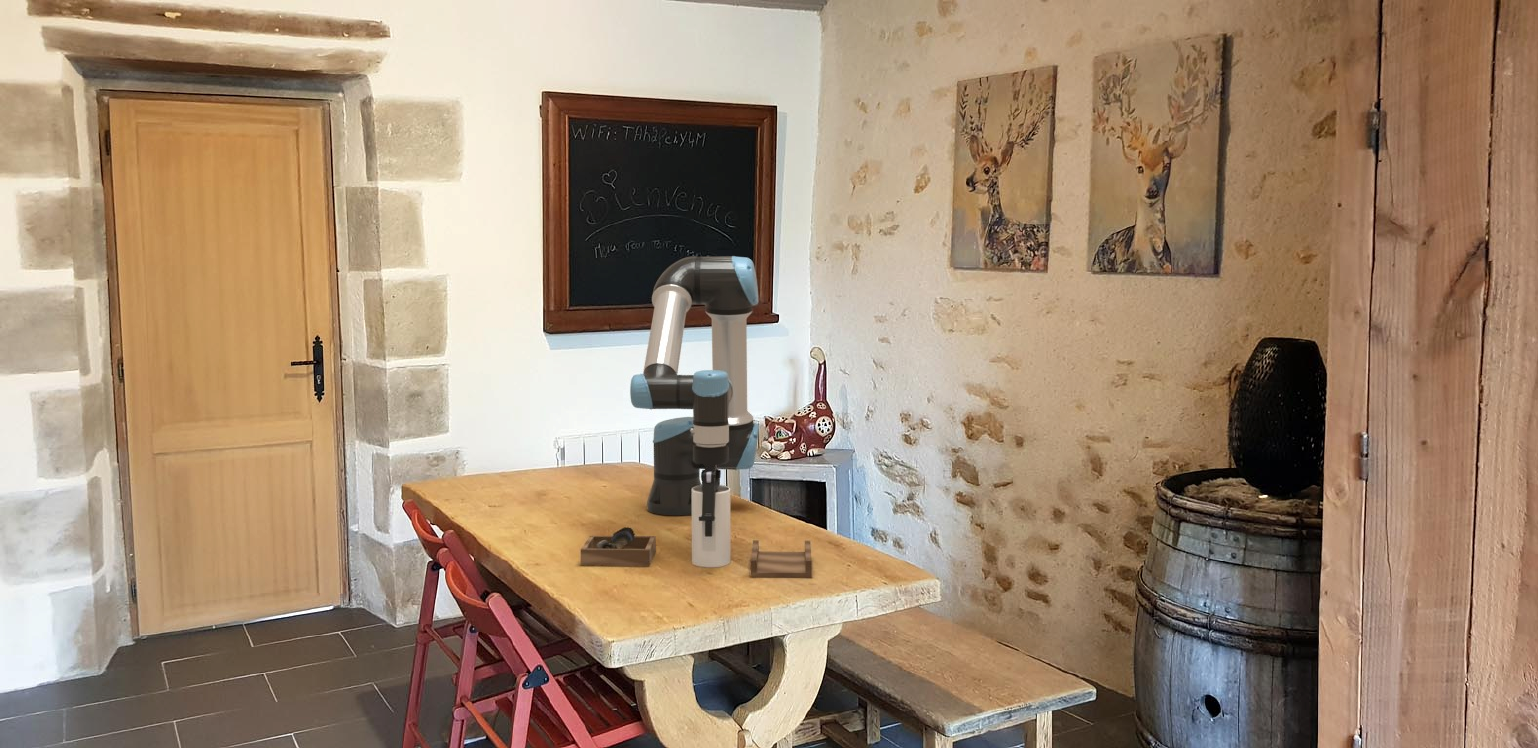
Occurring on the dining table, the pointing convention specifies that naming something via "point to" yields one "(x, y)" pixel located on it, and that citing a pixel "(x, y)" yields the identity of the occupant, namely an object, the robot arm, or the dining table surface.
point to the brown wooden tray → (781, 563)
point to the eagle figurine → (618, 539)
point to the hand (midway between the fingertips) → (711, 542)
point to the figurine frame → (619, 552)
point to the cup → (721, 526)
